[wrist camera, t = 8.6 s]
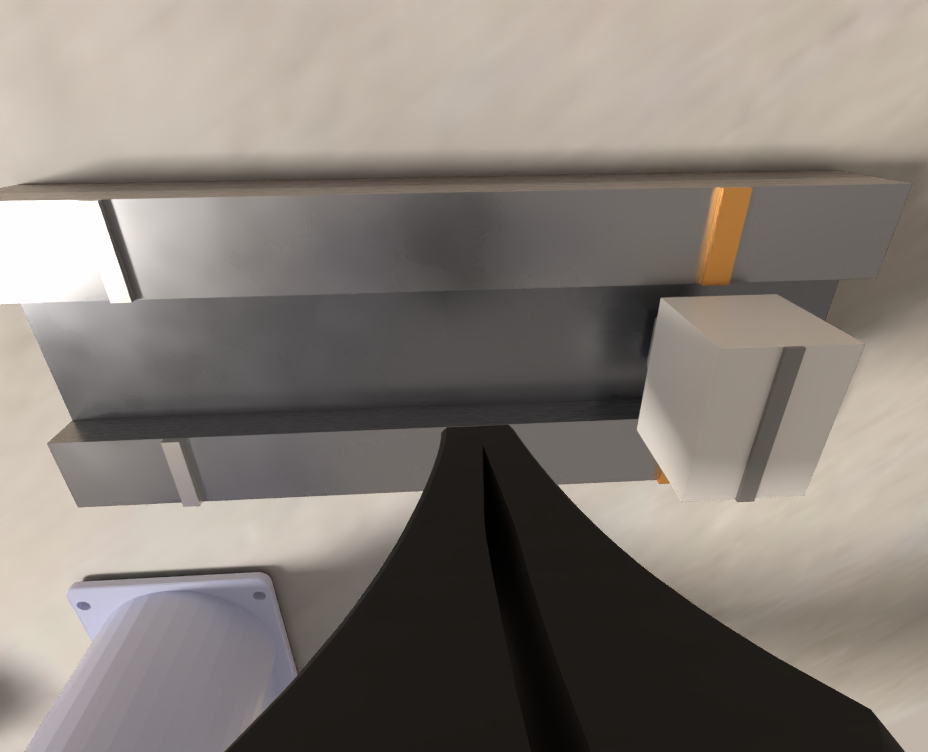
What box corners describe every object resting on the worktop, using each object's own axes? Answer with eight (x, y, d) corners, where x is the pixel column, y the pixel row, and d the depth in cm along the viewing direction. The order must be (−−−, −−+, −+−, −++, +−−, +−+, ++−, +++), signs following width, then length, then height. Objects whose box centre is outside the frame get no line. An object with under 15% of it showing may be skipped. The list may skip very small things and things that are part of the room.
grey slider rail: (755, 426, 19) (804, 477, 17) (124, 453, 18) (73, 511, 16) (835, 169, 15) (919, 184, 12) (15, 185, 14) (-79, 204, 11)
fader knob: (711, 397, 16) (807, 498, 12) (618, 401, 16) (683, 504, 12) (743, 275, 14) (869, 346, 10) (637, 278, 14) (723, 351, 10)
